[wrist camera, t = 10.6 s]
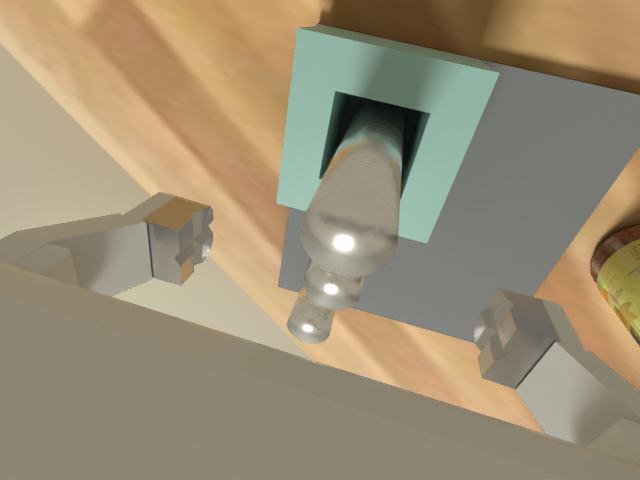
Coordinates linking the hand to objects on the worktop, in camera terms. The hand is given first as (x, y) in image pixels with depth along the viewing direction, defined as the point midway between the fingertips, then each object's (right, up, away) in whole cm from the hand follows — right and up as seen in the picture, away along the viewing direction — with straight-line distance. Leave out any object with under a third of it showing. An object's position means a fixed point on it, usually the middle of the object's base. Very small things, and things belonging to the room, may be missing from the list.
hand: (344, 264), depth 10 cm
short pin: (0, -3, +21) cm, 21 cm away
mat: (+7, +3, +16) cm, 18 cm away
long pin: (+3, +8, +13) cm, 16 cm away
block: (+3, +8, +13) cm, 16 cm away
